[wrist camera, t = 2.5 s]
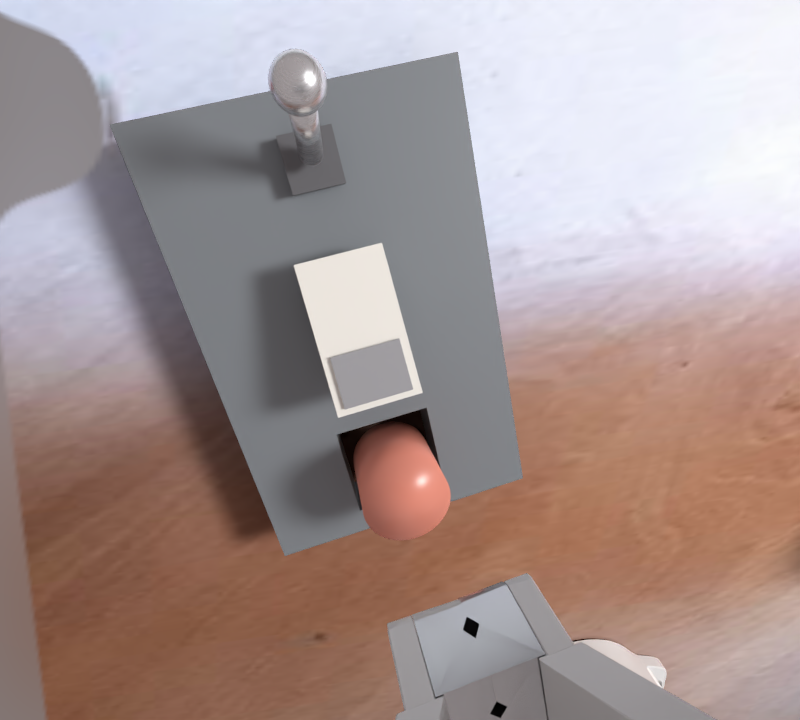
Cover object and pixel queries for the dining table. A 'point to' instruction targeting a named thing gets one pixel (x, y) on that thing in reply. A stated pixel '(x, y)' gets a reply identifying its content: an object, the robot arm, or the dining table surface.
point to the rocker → (358, 329)
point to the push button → (399, 482)
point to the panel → (320, 237)
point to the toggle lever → (300, 99)
